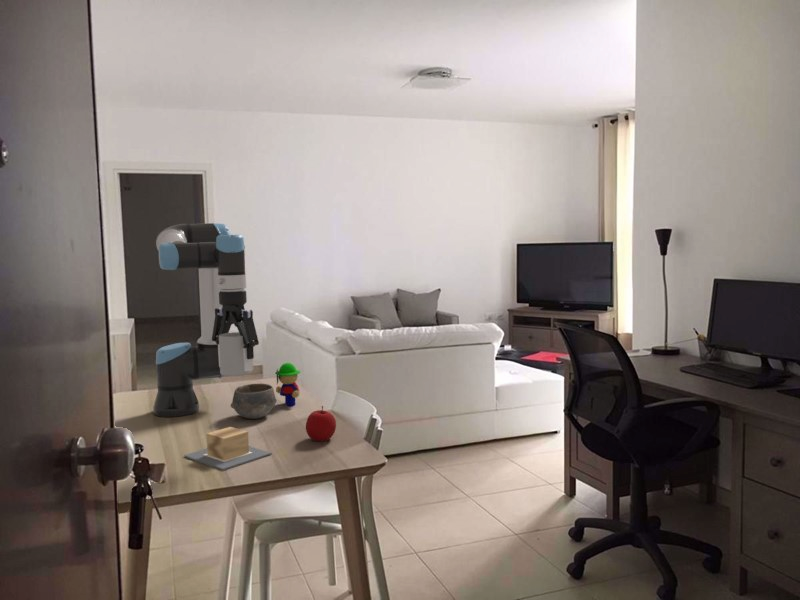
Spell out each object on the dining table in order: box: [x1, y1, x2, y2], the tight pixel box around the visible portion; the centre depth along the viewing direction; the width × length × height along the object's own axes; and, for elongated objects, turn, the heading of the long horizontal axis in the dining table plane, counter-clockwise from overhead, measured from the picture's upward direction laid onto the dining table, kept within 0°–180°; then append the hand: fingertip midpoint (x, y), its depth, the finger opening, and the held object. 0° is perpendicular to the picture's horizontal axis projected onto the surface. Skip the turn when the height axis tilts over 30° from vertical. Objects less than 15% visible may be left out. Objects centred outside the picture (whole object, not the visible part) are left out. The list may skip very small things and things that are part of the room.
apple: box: [305, 405, 337, 442], centre depth 205 cm, size 9×9×10 cm
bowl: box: [230, 383, 278, 420], centre depth 231 cm, size 14×15×10 cm
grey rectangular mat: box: [184, 445, 273, 471], centre depth 192 cm, size 18×16×1 cm
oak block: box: [206, 426, 249, 460], centre depth 192 cm, size 8×8×6 cm
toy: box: [274, 362, 301, 407], centre depth 247 cm, size 11×9×15 cm
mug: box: [219, 331, 252, 377], centre depth 195 cm, size 12×8×11 cm
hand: (235, 368), depth 195 cm, fingers closed on mug, 10 cm apart
